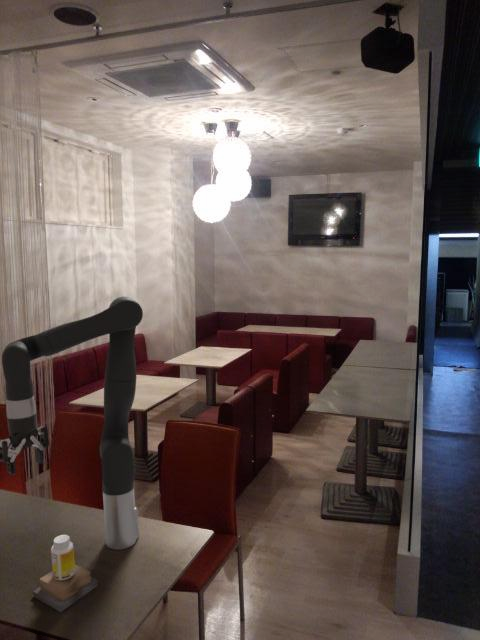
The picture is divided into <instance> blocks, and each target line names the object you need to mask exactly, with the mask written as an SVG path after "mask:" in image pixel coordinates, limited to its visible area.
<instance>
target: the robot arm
mask: <svg viewBox="0 0 480 640" xmlns="http://www.w3.org/2000/svg"><path fill="white" fill-rule="evenodd" d="M143 311H144V310H143V308H142V306H141V305H140V303H138V302H137V301H136V300H135V299H133V298H131V297H130V296H129V297H128V296H118V297H117V298H115V299H113V300H112V302H111V303H110V305H109V307H108V308H106V309H105V310H104V309H103V311H101V312H99V313H96V314H94V315H91V316H88V317H86V318H85V317H84V318H82V319H78V320H75V321H71V322H66V323H63V324H60V325H58V326H55V327H52V328H49V329H46V330H43V331H42V332H39V333H38V334H34V335H30V336H27V337H23V338H22V337H21V338H20V339H17V340H13V341H12V342H10V343H8V344H7V345H6V346H5V347H4V349H3V351H2V354H1V364H2V371H3V376H4V380H5V395H6V398H5V399H6V403H5V404H6V407H5V408H6V419H7V430H8V434H9V435H8V438H5V439H0V462H3V463H4V464H5V463H6V470H7V473H9V475H11V476H14V475H17V471H16V470H17V469H16V461H15V459H16V457H17V456H18V455H20V452H21V451H23V450H26V449H28V448H32V447H33V448H34V449H35V450H34V451H35V453H34V454H35V462H36V463H37V464H43V462H44V459H45V457H44V456H45V454H44V449H45V448H46V447H49V445H50V440H49V432H48V427H47V426H44V425H39V426H38V419H37V407H36V400H35V396H34V395H35V393H34V382H33V379H32V376H31V374H32V371H31V362H32V361H34V360H37V359H39V358H41V357H50V356H54V355H56V354H59V353H61V352H64V351H65V350H69V349H71V348H73V347H77V346H78V345H81V344H83V343H85V342H88V341H91V340H94V339H96V338H99V337H102V336H106V335H108V336H109V339H108V340H109V341H108V348H107V349H108V350H107V355H106V363H105V370H104V371H105V372H104V380H103V410H104V411H103V412H104V413H103V414H104V418H103V419H104V420H103V426H102V433H101V438H100V444H99V455H100V459H101V470H102V471H101V472H102V474H101V475H102V483H101V484H102V485H101V486H102V500H103V515H104V516H103V517H104V531H105V534H104V535H105V545H106V547H108V549H112V550H114V551H115V550H116V551H117V550H125V549H127V548H130V547H132V546H134V544H135V543H136V542H137V539H138V538H139V537H140V533H139V532H140V531H139V511H138V509H139V508H137V507H136V502H135V500H136V499H135V484H134V483H135V457H134V450H133V447H132V446H131V443H130V437H129V419H130V413H131V410H132V407H133V404H134V401H135V396H136V387H137V362H136V361H137V359H136V354H135V336H136V327H138V326H139V324H140V323H141V322H142V319H143V315H144V313H143ZM38 435H39V440H38V439H37V436H38Z"/></svg>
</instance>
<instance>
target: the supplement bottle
mask: <svg viewBox="0 0 480 640" xmlns="http://www.w3.org/2000/svg"><path fill="white" fill-rule="evenodd" d="M70 538H71V537H70V536H69V535H68V534H61V535H58V536H56V537H54V539H53V545H52V546H51V548H50V553H51V554H50V556H51V566H52V571H53V577H54V578H55V579H56V580H67V579H69V578H71V577H72V576H73V575H74V573H75V565H76V564H75V563H76V562H75V560H76V559H75V551H74V550H75V549H74V543H73V542H72V541H71V540H70Z"/></svg>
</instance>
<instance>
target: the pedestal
mask: <svg viewBox="0 0 480 640" xmlns="http://www.w3.org/2000/svg"><path fill="white" fill-rule="evenodd" d="M98 586H99V580H98V579H97V578H94V577H93V576H91V571H90V570H88V569H86V568H83V567H81V566H80V565H77V564H75V573H74V575H73V576H72V577H71V578H69V579H67V580H56V579H55V578H54V577H53V570H51V571H50V572H48V573H47V574H45V575H44V576H42V577H40V578H39V587H38V588H36V589H35V590H33V591H32V594H33V595H32V596H33V598H35V599H37V600H39V601H40V602H42V603H44V604H45V605H47V606H49V607H50V608H52V609H55V610H56V611H58V612H59V613H62V612H63V611H65V610H66V609H68V608H69V607H70V606H71V605H73V604H75V603H76V602H77V601H78V600H80V599H82V598H83V597H85V596H86V595H87V594H88V593H90V592H91V591H92V590H94V589H95V588H97V587H98Z"/></svg>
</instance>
